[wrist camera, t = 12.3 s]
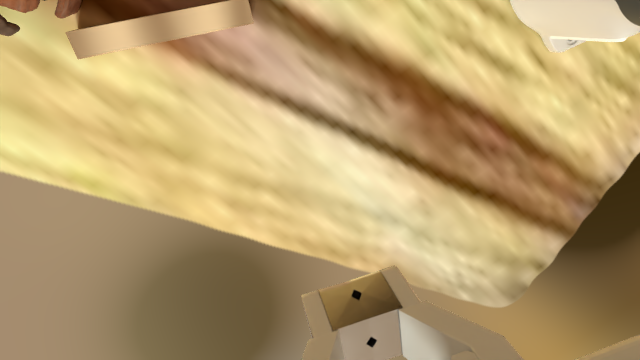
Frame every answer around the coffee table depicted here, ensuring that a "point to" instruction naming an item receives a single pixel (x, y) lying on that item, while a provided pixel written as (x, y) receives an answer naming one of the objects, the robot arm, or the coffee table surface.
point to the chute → (159, 28)
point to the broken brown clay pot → (66, 6)
